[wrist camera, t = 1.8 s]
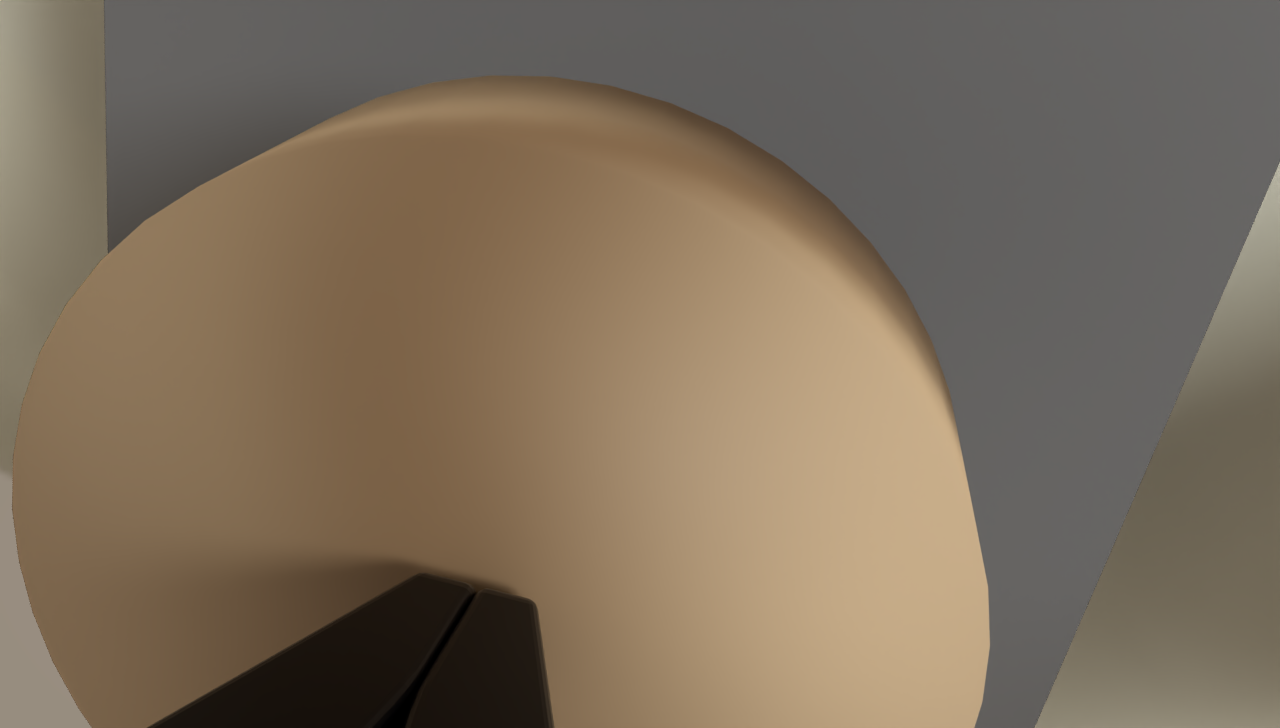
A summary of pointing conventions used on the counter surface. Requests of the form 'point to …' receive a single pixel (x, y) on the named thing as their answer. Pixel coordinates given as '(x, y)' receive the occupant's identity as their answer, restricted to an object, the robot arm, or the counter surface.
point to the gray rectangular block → (854, 195)
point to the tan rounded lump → (509, 422)
